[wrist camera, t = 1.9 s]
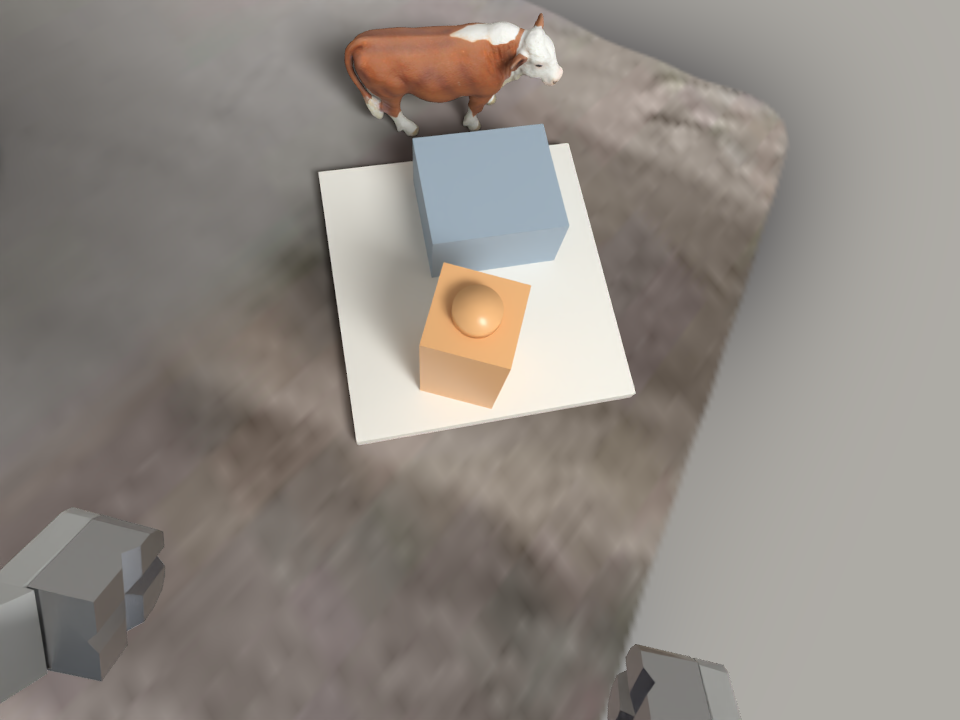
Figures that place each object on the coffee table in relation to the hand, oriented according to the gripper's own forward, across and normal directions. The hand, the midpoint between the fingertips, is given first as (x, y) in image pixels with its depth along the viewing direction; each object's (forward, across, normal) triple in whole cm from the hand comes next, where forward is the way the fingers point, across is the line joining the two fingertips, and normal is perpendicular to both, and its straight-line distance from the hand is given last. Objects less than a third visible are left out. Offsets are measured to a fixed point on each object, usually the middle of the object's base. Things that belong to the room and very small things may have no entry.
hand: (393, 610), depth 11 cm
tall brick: (+26, 0, +9) cm, 28 cm away
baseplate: (+31, +1, +6) cm, 31 cm away
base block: (+33, +1, +2) cm, 33 cm away
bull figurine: (+40, +6, -3) cm, 40 cm away
